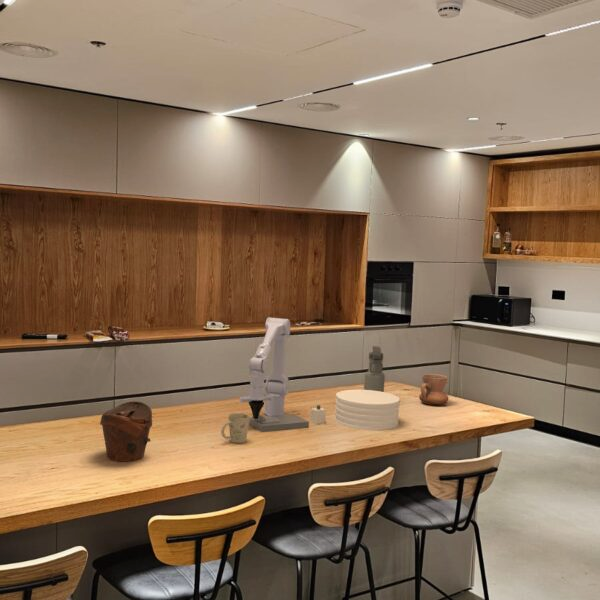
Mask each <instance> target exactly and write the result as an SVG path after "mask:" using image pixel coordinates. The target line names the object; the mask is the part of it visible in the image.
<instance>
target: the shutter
mask: <svg viewBox="0 0 600 600" xmlns="http://www.w3.org/2000/svg"><path fill="white" fill-rule="evenodd" d="M263 416H264V417H263ZM256 420H258V421H260V422H261V423H274V422H280V420H278V419H277V418H275V417H273V416H268V415H261V414H260V413H259V417H258V419H256Z"/></svg>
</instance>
